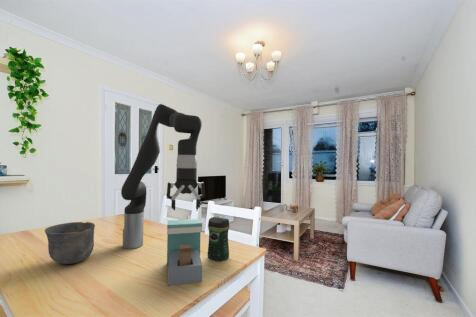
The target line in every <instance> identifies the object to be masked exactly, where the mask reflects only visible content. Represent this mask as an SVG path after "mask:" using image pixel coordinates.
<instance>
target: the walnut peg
mask: <svg viewBox="0 0 476 317" xmlns="http://www.w3.org/2000/svg"><path fill="white" fill-rule="evenodd" d="M183 265H191V245H190V244H185V245H180V258H179V266H183Z"/></svg>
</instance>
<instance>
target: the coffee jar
mask: <svg viewBox="0 0 476 317" xmlns="http://www.w3.org/2000/svg"><path fill="white" fill-rule="evenodd" d="M207 228H208V229H207V230H208V245H207V258H208V259H209V260H211V261H213V262H219V263H221V262H225V261H227V260H229V258H230V248H229V229H230V219H228V218H224V217H219V216H213V217H210V218H208V223H207Z"/></svg>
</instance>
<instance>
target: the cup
mask: <svg viewBox="0 0 476 317" xmlns="http://www.w3.org/2000/svg"><path fill="white" fill-rule="evenodd" d="M95 227H96V225H95V222H89V221H87V222H83V221H78V222H77V221H74V222H67V223H66V222H65V223H60V224H55V225H52V226H48V227H46V228H45V229H44V233H45V235H46V238H47V244H48V246H47V249H48V250H47V251H48V255H49V257H50V259H51V260H52V261H53V262H56V263H58V264H61V265H74V264H77V263H78V264H79V262H82V261H85V260H86V259H87V258H89V257H90V256H91V254H92V253H93V252H94V247H95V243H94V242H95V240H94V239H95V238H94V237H95V229H96V228H95Z"/></svg>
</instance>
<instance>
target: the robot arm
mask: <svg viewBox="0 0 476 317" xmlns="http://www.w3.org/2000/svg"><path fill="white" fill-rule="evenodd" d="M160 124H161V125H163V126H165V127H169V128H173V129H174V131H175V132H177V133H180V134H189V135H190V136H189V137H188V138H184V139H179V140H178V143H177V157H176V177H175V178H176V179H175V181H174V182H170V181H168V183H167V184H166V185H167V187H166V188H167V189H166V198H167V200H170V201H171V209H172V210H173V211H176V199H177V197H179V195H180V194H182V195H185V194H189V195H190V194H193V195H194V196H195V200H196V201H195V202H196V203H195V209H196V210H199V209H200V208H201V200H202V199H203V198H206V186H205V185H206V184H205V182H204V181H201V182H198V181H197V175H198V174H197V172H198V171H197V170H198V168H197V167H198V160H197V158H198V157H197V147H198V146H197V145H198V140H199V136H200V133H201V130H202V126H203V124H202V120H201V118H200V117H199V116H197V115H193V114H192V115H190V114H185V113H182V112H178V111H177V110H176V109H174V108H171V107H170V106H167V105H165V104H163V103H159V104H158V105H157V107H156V108H155V110H154V113H153V115H152V118H151V121H150V124H149V127H148V131H147V132H146V134H145V138H144V140H143V141H142V144H141V145H140V148H139V151H138V152H137V156H136V158H135V160H134V163H133V164H132V165H133V166H132V167H131V170H130V172H129V173H128V175H127V177H126V179H125V181H124V183H123V184H122V187H121V190H120V195H121V197H122V198H123V200H125V201H129V203H128V204H127V205H126V206H125V207H124V214H123V215H124V216H123V217H124V218H123V220H124V222H123V229H122V249H137V248H141V247H142V246H143V245H144V225H145V222H144V221H145V219H144V218H145V216H144V215H145V207H146V204H147V186H146V183H144V182H143V181H142V180H143V178H144V176H145V175H146V174H147V173H148V172H149V171H150V169H151V168H153V167H154V165H155V164H156V162H157V160H158V157H159V155H160V151H161V147H160V141H159V137H158V127H159V125H160ZM174 187H175V188H176V189H177V190H175V192H174V193H173V195H171V189H174ZM197 187H199V188H200V192H201V193H200V194H198V192H197V191H196V188H197Z"/></svg>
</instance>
